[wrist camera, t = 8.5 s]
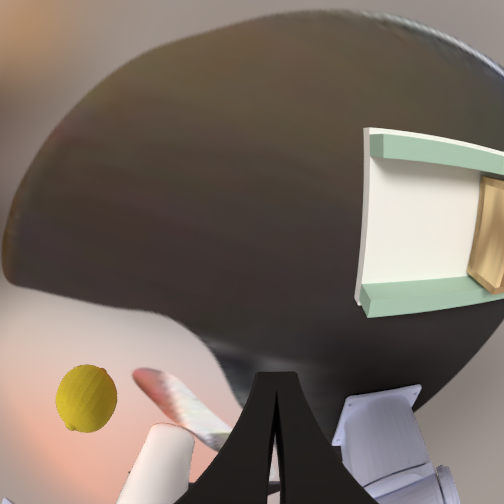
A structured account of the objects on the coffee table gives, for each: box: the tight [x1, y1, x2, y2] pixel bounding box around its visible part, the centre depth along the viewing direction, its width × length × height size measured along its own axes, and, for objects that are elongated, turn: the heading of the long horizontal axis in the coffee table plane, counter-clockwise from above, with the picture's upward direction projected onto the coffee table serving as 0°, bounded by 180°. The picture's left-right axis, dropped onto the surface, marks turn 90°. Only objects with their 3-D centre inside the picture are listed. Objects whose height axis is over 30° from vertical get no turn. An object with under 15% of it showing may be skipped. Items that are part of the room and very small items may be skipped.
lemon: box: [56, 365, 117, 433], centre depth 19 cm, size 6×6×8 cm
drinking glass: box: [116, 423, 195, 504], centre depth 19 cm, size 7×7×15 cm
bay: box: [354, 127, 504, 318], centre depth 14 cm, size 11×16×3 cm
